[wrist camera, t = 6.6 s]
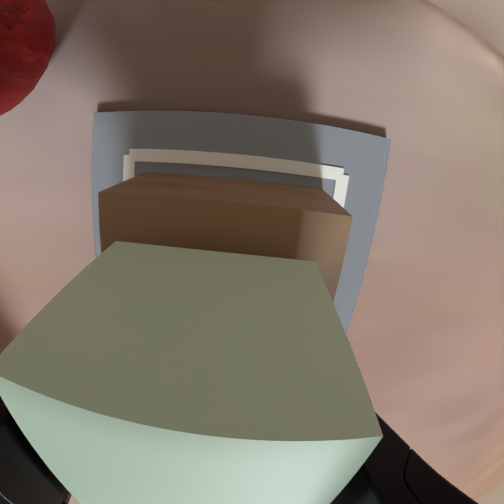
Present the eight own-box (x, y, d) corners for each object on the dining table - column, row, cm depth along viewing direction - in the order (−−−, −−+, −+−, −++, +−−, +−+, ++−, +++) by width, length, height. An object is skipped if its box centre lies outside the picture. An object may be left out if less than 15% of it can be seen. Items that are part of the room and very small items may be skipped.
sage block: (283, 400, 9) (293, 541, 5) (133, 382, 9) (85, 508, 4) (315, 261, 7) (383, 435, 3) (115, 240, 7) (-14, 369, 3)
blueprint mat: (330, 371, 16) (331, 376, 15) (112, 346, 15) (109, 351, 15) (386, 138, 11) (391, 139, 11) (98, 112, 11) (93, 112, 10)
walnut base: (294, 337, 14) (304, 399, 10) (148, 321, 14) (120, 377, 10) (322, 189, 12) (352, 216, 8) (145, 172, 11) (98, 192, 8)
